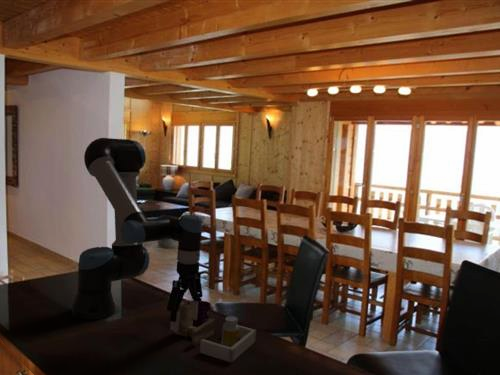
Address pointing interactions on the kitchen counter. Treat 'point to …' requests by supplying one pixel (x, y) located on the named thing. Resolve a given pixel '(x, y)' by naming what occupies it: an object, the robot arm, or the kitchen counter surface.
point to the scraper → (187, 325)
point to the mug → (202, 312)
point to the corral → (229, 352)
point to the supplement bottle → (230, 331)
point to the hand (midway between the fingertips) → (184, 324)
